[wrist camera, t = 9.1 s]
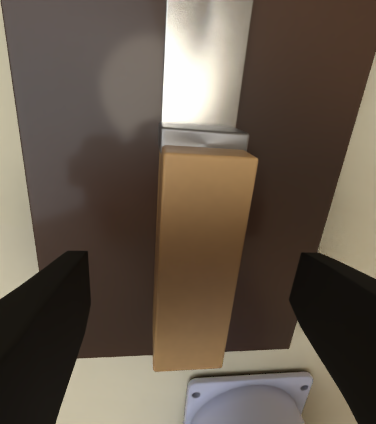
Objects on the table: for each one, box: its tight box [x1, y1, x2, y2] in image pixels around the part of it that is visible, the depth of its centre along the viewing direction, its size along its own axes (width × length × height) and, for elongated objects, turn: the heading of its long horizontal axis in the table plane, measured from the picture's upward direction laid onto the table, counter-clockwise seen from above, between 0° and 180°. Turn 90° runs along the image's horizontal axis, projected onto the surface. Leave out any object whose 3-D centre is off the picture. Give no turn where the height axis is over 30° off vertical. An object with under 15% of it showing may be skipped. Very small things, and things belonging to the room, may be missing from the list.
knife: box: [153, 0, 258, 372], centre depth 8 cm, size 18×3×3 cm, turn 175°
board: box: [1, 0, 376, 358], centre depth 11 cm, size 21×12×2 cm, turn 175°
